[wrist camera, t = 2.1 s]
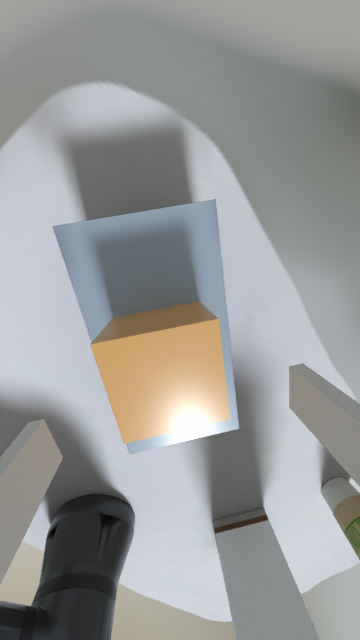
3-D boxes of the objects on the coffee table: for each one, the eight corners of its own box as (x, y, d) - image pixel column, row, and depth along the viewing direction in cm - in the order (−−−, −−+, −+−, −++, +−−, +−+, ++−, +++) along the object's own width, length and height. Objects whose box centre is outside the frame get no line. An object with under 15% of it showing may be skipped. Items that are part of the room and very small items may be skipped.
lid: (131, 438, 24) (118, 521, 16) (64, 230, 17) (-15, 202, 9) (232, 415, 24) (266, 484, 17) (209, 206, 17) (248, 161, 10)
